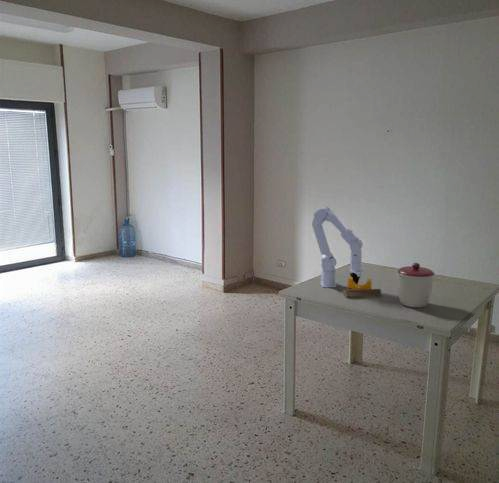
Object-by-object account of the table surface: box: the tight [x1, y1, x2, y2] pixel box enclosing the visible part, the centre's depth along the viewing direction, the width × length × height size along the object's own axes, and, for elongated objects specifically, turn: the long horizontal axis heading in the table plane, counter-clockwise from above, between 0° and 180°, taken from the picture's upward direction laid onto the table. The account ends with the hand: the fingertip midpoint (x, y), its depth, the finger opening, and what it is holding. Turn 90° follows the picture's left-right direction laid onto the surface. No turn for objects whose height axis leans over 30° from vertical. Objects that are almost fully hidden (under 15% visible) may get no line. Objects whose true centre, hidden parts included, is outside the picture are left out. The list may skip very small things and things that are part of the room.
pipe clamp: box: [346, 276, 373, 290], centre depth 259 cm, size 12×4×6 cm, turn 69°
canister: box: [395, 262, 436, 309], centre depth 235 cm, size 18×18×21 cm
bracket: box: [342, 288, 382, 299], centre depth 252 cm, size 6×18×4 cm, turn 94°
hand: (355, 286), depth 264 cm, fingers closed
